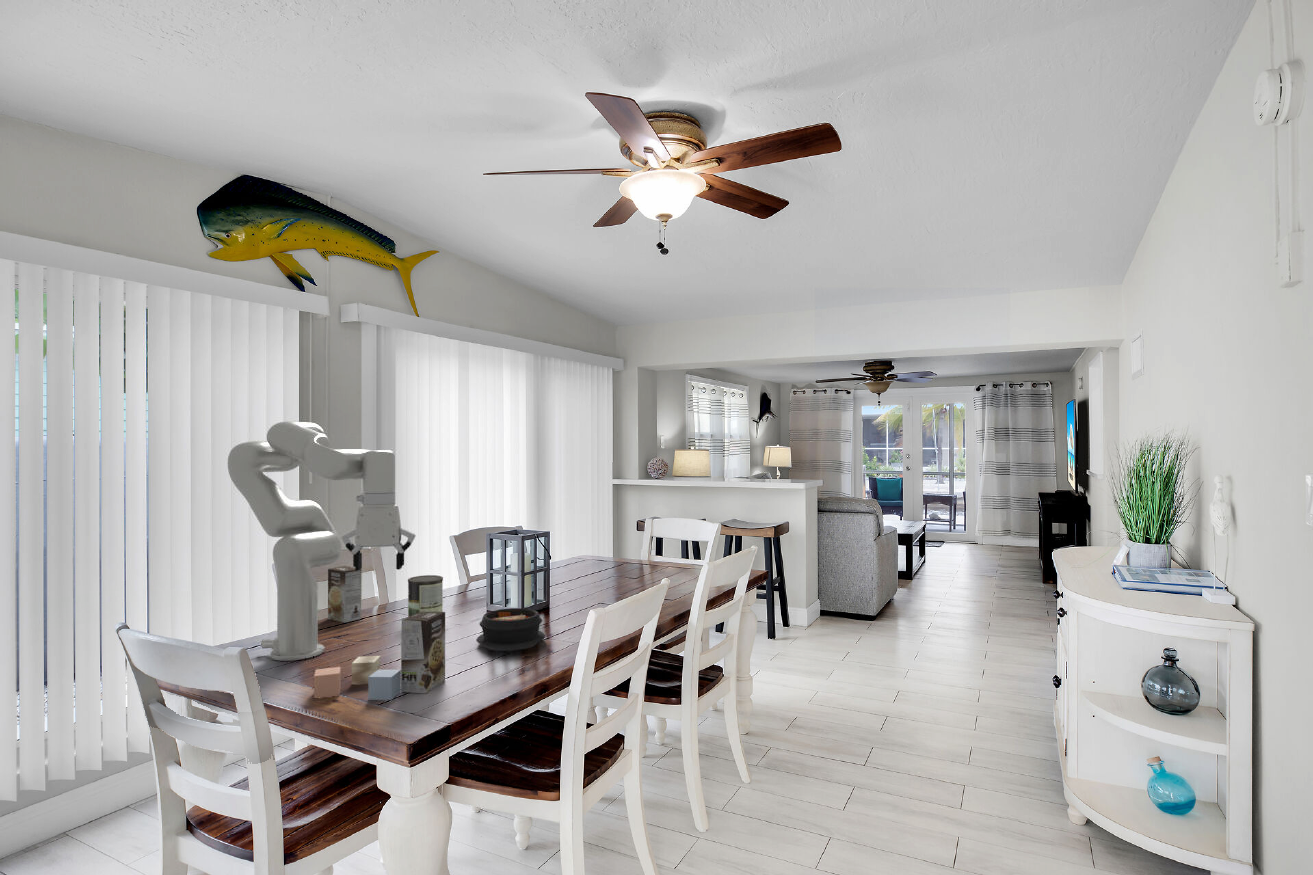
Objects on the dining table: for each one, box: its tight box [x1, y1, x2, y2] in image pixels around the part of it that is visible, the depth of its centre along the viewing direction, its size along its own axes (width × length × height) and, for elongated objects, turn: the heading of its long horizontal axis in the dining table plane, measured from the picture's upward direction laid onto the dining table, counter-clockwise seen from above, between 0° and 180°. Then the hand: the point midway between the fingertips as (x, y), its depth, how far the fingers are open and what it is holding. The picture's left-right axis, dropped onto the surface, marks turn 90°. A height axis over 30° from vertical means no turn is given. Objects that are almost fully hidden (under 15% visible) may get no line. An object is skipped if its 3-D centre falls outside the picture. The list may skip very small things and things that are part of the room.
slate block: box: [368, 669, 401, 701], centre depth 154 cm, size 5×5×5 cm
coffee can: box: [407, 574, 444, 617], centre depth 216 cm, size 10×10×14 cm
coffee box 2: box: [400, 611, 446, 695], centre depth 160 cm, size 9×6×16 cm
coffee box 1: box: [327, 565, 363, 623], centre depth 223 cm, size 9×6×16 cm
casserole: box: [475, 607, 546, 652], centre depth 193 cm, size 25×19×8 cm
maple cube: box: [351, 655, 381, 685], centre depth 164 cm, size 5×5×5 cm
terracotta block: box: [313, 666, 342, 699], centre depth 155 cm, size 5×5×5 cm
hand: (378, 569), depth 174 cm, fingers open, 9 cm apart
